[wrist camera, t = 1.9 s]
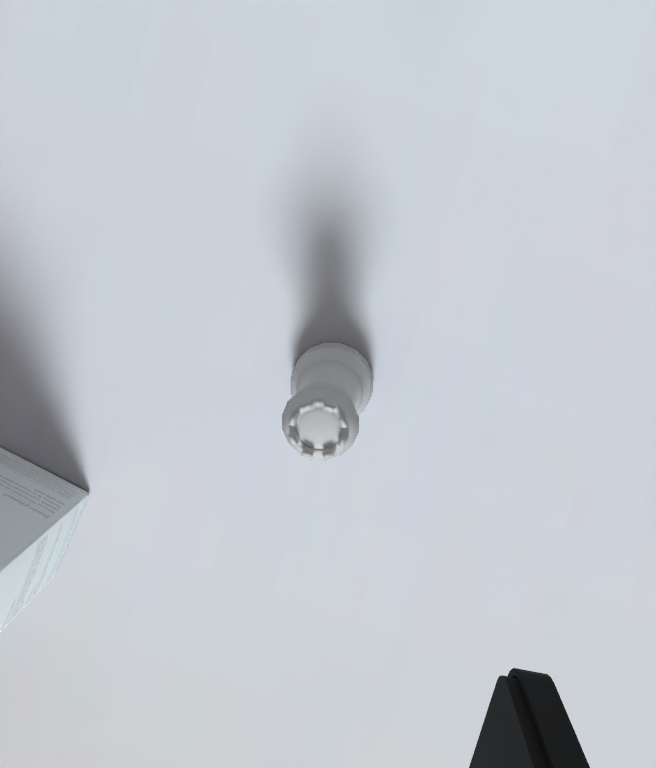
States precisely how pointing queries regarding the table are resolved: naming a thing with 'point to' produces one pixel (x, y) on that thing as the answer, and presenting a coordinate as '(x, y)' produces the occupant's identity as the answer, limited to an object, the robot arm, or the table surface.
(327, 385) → the rook chess piece
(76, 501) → the supplement box
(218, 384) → the table surface
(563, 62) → the table surface
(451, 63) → the table surface
